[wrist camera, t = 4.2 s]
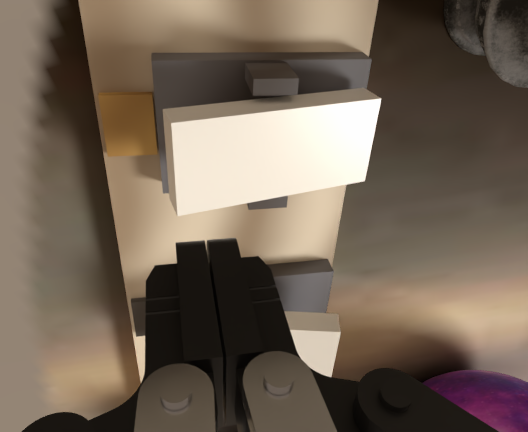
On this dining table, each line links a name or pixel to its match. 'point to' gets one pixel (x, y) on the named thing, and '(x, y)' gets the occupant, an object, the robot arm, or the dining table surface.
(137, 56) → the switch board
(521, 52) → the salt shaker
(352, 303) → the dining table surface
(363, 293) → the dining table surface
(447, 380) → the decorative orb
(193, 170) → the block
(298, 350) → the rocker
